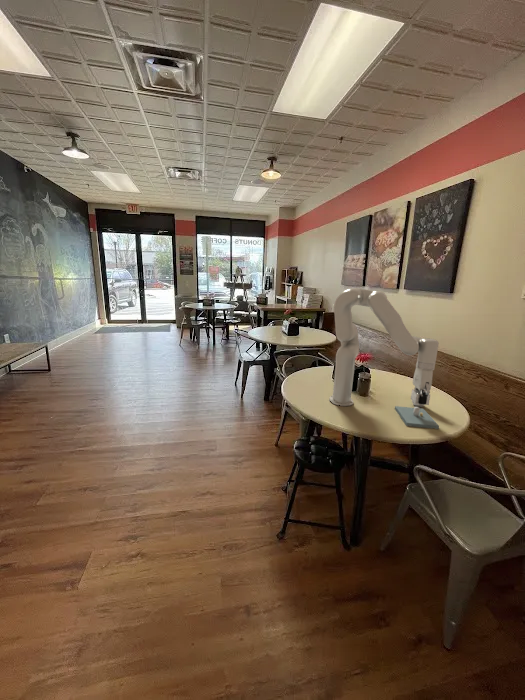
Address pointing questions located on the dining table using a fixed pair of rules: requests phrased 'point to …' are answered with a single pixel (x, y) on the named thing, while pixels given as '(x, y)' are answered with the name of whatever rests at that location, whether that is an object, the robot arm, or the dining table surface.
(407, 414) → the base plate
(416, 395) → the collar
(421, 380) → the robot arm
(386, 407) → the dining table surface
